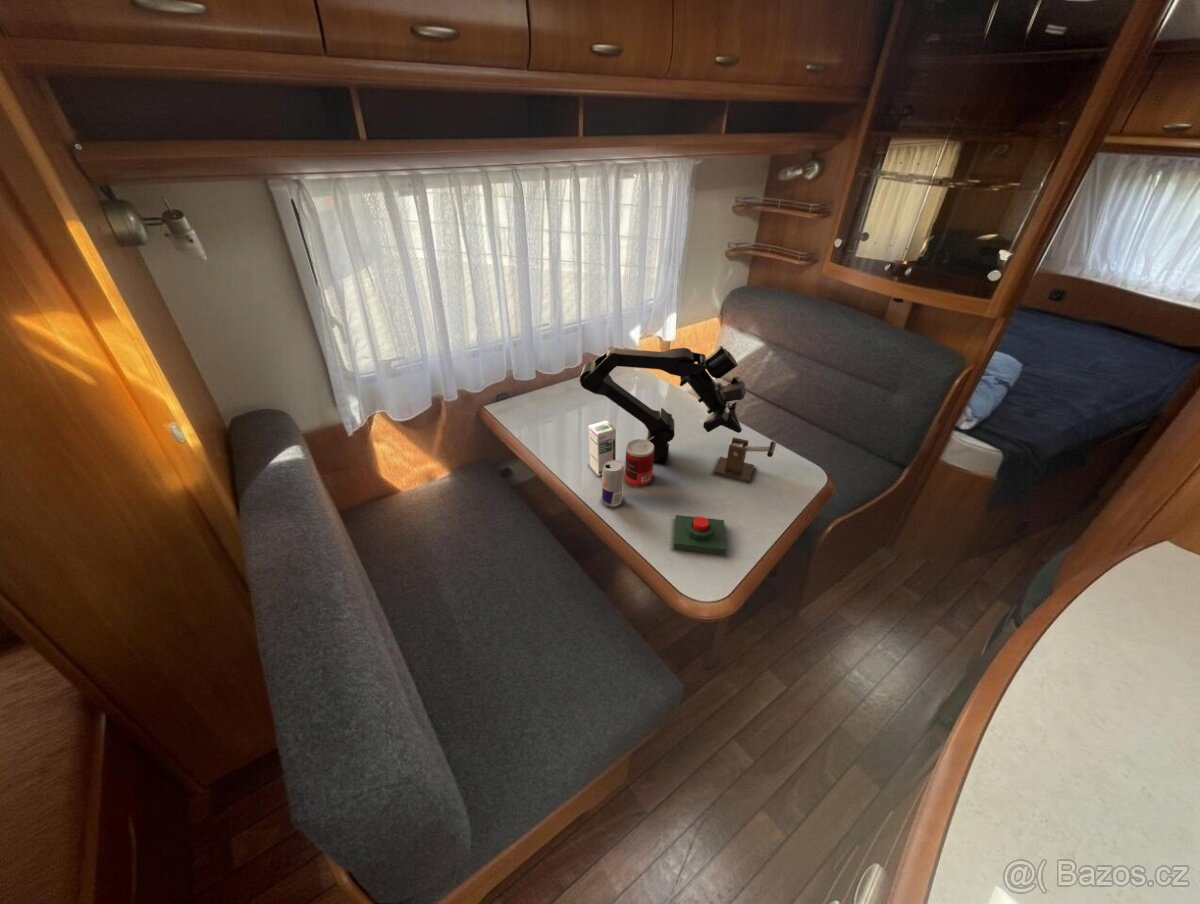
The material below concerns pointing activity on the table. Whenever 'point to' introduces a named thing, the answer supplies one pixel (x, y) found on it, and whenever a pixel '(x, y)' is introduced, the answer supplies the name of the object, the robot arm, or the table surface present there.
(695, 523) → the button
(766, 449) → the lever
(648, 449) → the canned food
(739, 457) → the bracket
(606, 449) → the syrup box
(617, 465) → the energy drink
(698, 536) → the button box
